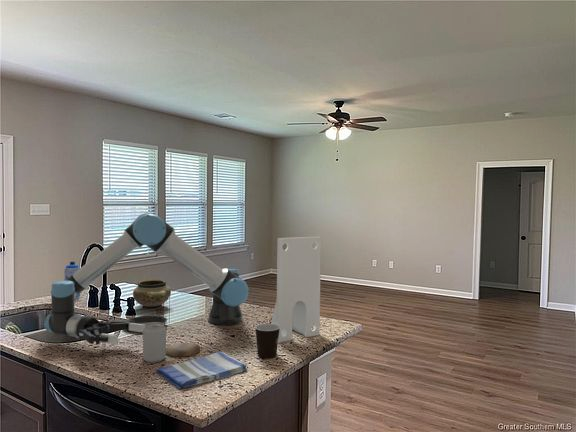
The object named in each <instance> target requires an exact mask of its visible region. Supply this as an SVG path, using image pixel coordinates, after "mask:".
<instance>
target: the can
mask: <svg viewBox="0 0 576 432" xmlns="http://www.w3.org/2000/svg"><path fill="white" fill-rule="evenodd" d="M166 348H167V327H166V326H165V325H164V323H161V322H152V323H148V324H146V325H145V328H144V329H143V332H142V360H144V361H145V362H147V363H151V364H152V363H159V362H162V361H163V360H164V359H165V358H166V357H167V354H166Z"/></svg>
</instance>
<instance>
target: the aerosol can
mask: <svg viewBox="0 0 576 432" xmlns="http://www.w3.org/2000/svg"><path fill="white" fill-rule="evenodd" d="M75 262H76V261H70V262H69V264H68V265H66V266H65V267H64V280H66V279H67V278H69V277H70V276H71V275H73V274H74V273H75V272H76V271H78V270H79V269H80V268H81V267H80V265H78V264H77V263H75ZM81 299H82V298H81V293H79V294H78V295H77V296H76V297H75V299H74V301H78V300H81Z"/></svg>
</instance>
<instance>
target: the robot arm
mask: <svg viewBox="0 0 576 432" xmlns="http://www.w3.org/2000/svg"><path fill="white" fill-rule="evenodd" d="M143 246H146V247H148V248H149V249H150V250H152V251H153V252H155V253H159V252H160V253H161V252H162V253H163V254H165V255H166V256H167V257H168V258H170V259H171V260H172V261H174V262H175V263H177V264H178V265H179V266H181V267H182V268H184V269H185V270H186V271H188V272H189V273H190V274H192V275H193V276H195V277H196V278H197V279H199V280H200V281H202V282H203V283H204V284H206V285H207V286H208V288H209V289H208V290H209V292H210V293H211V294H212V304H211V307H210V311H209V313H208V322H209V323H210V324H214V325H222V326H223V325H234V324H238V323H240V322H242V321H243V312H242V308H241V307H240V305H242V304H244V302H245V301H247V298H248V296H249V292H250V291H249V286H248V284H247V282H246V281H245V280H244V279H243V278H241V277H240V270H239V269H237V268H227V267H226V268H221V267H220V266H218V265H217V264H215V262H213V261H212V260H210V259H209V258H208V257H207V256H205V255H204V254H202V253H201V252H200V251H198V250H197V249H196V248H194V247H193V246H192V245H191V244H189V243H187V242H186V241H185V240H183V239H182V238H180V237H179V236H178V235H177V234H176V231H175V228H174V227H172V226H171V225H170V224H169V223H168V222H166V221H165V220H163V218H162V217H161V216H159V215H157V214H155V213H152V212H147V213H143V214H140V215H139V216H137V218H135V220H134V221H133V222H132V223H131V224H130V225H129V226H128V227H127V228H126V229H124V232H123V234H121V236H119V237H118V238H117V239H116V240H114V241H113V242H111V243H110V244H109V245H108V246H106V247H105V248H104V249H103V250H102V251H100V252H99V253H98V254H96V255H95V256H94V257H93V258H91V259H90V260H89V261H88V262H86V263H85V264H84V265H82V266H81V267H80V269H79V270H78V271H76V272H75V273H74V274H73V275H71V276H70V277H69V278H67V279H66V280H65V279H64V280H57V281H55V282H52V284H51V289H50V294H51V295H50V296H51V298H50V299H51V312H50V313H49V314H47V316H46V318H45V321H44V323H43V325H44V329H45V331H46V332H49V333H50V334H51V333H52V334H54V335H62V336H68V337H75V338H76V339H79V338H80V339H83V340H85V341H86V342H87V343H89V344H91V345H92V344H93V345H94V344H95V345H100V344H101V343H105V344H110V345H111V344H113V345H118V343H119V335H117V334H116V335H115V334H110V333H111V332H116V331H125V330H128V331H131V332H135V331H136V333H143V329H144V328H145V325H144V324H136V323H133V321H132V320H130V321H126V320H106V322H103V321H99V320H98V319H97V318H96V317H93V316H86V315H79V314H75V300H74V299H75V297H76V296H77V295H78V294H79V293H80V294H81V293H82V292H83V291H84V290H85V289H86V288H88V287H89V286H90V285H92V284H93V283H94V282H95V281H97V280H98V279H99V278H101V276H103V275H105V274H106V273H107V272H108V271H109V270H110V269H111V268H113V267H114V266H115V265H117V264H118V263H119V262H120V261H122V260H123V259H124V258H125V257H126V256H128V255H129V254H130V253H132V252H133V251H134V250H135V249H137V248H142V247H143Z"/></svg>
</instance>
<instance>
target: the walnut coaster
mask: <svg viewBox="0 0 576 432" xmlns="http://www.w3.org/2000/svg"><path fill="white" fill-rule="evenodd" d="M200 351H201V346H200V345H199V344H197V343H194V342H177V343H172V344H170V345H168V346H166V356H169V357H173V358H185V357H191V356H195V355H197V354H198V353H200Z"/></svg>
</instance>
